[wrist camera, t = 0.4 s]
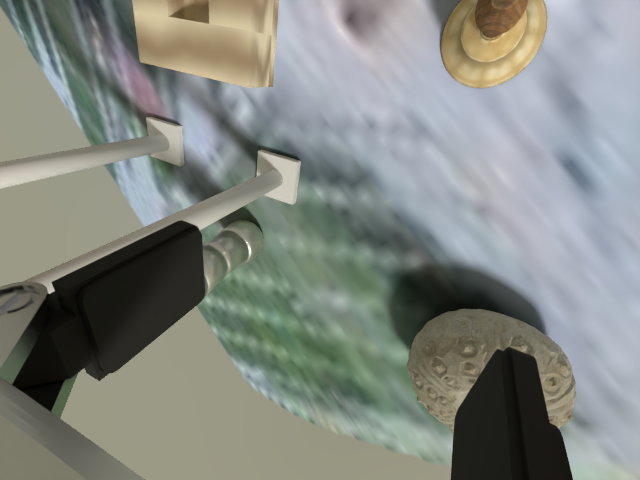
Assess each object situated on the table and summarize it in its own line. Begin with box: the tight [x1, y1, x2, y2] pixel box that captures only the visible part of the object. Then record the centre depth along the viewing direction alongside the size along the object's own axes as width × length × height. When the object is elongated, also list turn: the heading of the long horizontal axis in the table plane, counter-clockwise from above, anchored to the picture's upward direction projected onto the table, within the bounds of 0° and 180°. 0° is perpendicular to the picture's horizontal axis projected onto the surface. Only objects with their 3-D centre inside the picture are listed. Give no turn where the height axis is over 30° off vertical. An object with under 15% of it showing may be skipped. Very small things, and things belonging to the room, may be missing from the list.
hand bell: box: [441, 0, 547, 88], centre depth 22 cm, size 8×8×16 cm
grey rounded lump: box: [407, 309, 576, 433], centre depth 38 cm, size 18×18×10 cm
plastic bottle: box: [202, 220, 264, 299], centre depth 42 cm, size 6×7×20 cm
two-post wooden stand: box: [0, 117, 301, 294], centre depth 30 cm, size 14×26×36 cm, turn 81°
